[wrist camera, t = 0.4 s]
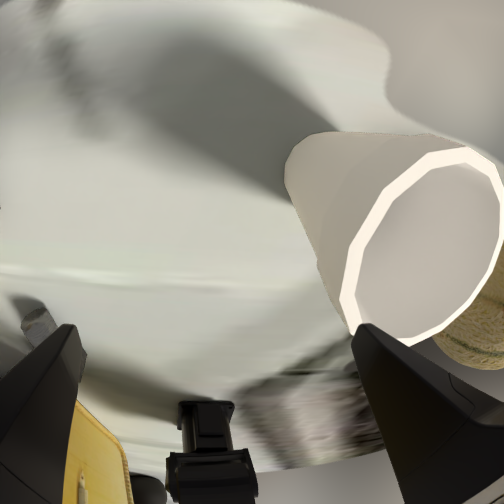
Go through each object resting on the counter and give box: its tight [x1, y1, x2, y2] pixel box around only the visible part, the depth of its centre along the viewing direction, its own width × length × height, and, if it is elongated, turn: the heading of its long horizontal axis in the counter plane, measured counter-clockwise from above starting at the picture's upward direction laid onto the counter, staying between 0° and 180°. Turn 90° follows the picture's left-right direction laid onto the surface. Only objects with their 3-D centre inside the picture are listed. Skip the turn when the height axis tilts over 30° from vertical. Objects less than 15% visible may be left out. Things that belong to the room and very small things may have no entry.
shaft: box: [21, 308, 87, 382], centre depth 23 cm, size 6×4×4 cm
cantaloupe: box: [432, 240, 504, 370], centre depth 22 cm, size 15×15×15 cm
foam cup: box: [284, 131, 504, 347], centre depth 16 cm, size 10×9×13 cm
